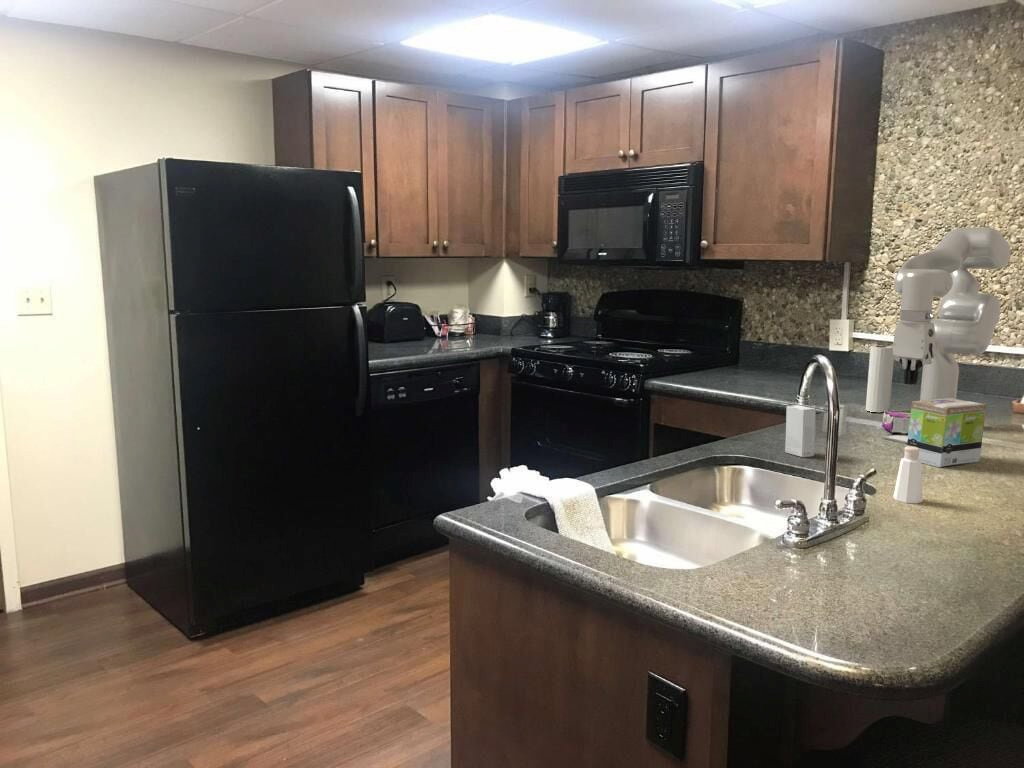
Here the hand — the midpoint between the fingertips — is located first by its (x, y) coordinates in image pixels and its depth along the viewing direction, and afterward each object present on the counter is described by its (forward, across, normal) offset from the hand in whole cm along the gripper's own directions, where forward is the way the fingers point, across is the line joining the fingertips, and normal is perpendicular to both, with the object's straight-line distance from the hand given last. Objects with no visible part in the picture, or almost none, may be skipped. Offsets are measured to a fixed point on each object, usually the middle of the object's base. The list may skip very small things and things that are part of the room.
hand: (910, 383), depth 224 cm
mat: (+15, -6, +1) cm, 16 cm away
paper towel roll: (+16, +28, -26) cm, 42 cm away
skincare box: (+14, 0, +43) cm, 45 cm away
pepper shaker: (+14, -38, +54) cm, 68 cm away
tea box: (+15, -21, +16) cm, 30 cm away
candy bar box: (+12, +7, -1) cm, 14 cm away
